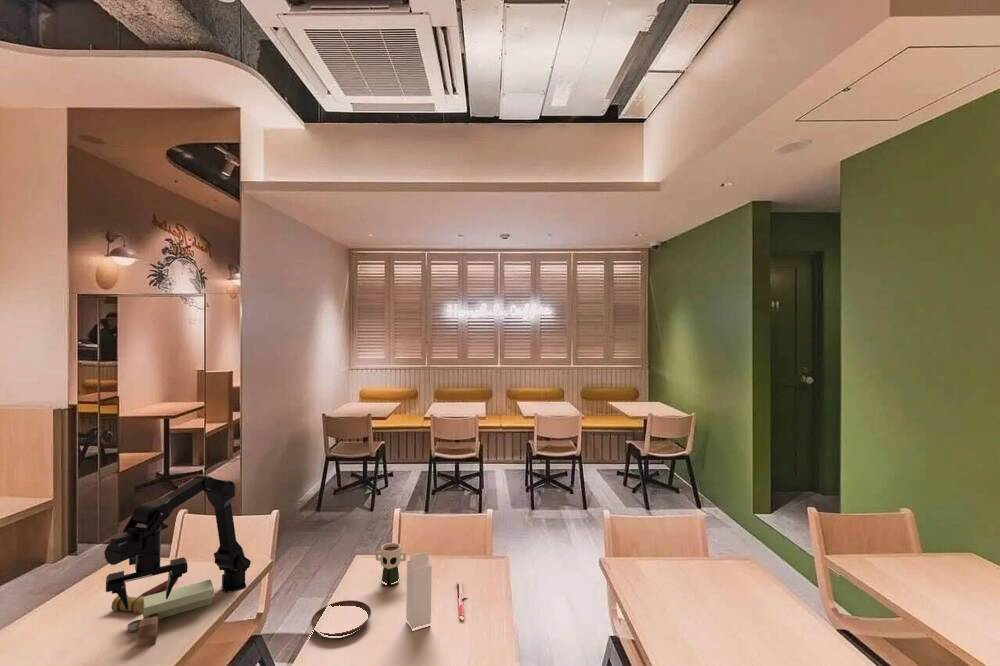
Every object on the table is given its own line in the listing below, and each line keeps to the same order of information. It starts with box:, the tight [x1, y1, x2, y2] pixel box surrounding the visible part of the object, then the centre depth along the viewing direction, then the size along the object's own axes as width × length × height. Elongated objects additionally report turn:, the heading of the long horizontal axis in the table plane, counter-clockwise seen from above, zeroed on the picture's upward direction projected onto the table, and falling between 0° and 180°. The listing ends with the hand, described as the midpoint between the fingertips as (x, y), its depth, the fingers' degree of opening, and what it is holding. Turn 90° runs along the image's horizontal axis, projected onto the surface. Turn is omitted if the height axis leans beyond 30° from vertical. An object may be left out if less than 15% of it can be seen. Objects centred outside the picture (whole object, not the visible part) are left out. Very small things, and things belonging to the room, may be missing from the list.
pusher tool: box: [137, 613, 159, 649], centre depth 143 cm, size 4×14×6 cm, turn 28°
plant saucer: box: [310, 599, 372, 636], centre depth 149 cm, size 18×18×3 cm
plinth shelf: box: [142, 578, 215, 620], centre depth 152 cm, size 18×8×7 cm, turn 128°
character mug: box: [375, 542, 407, 584], centre depth 174 cm, size 11×7×13 cm, turn 90°
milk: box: [405, 551, 433, 629], centre depth 149 cm, size 6×6×22 cm
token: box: [127, 619, 141, 634], centre depth 145 cm, size 4×4×2 cm
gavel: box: [111, 578, 179, 615], centre depth 162 cm, size 21×5×10 cm
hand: (147, 603), depth 138 cm, fingers open, 9 cm apart
